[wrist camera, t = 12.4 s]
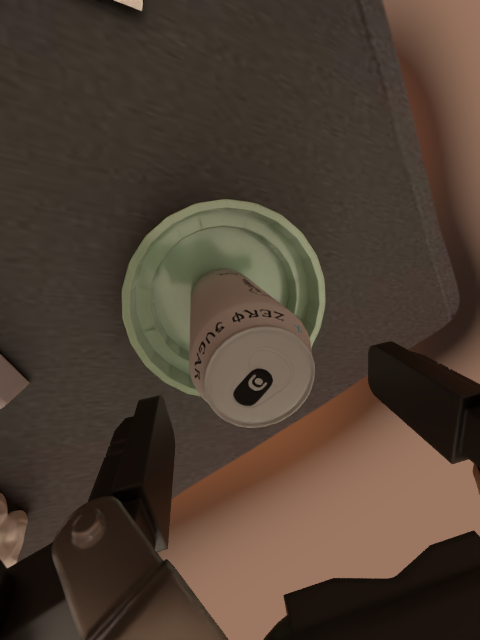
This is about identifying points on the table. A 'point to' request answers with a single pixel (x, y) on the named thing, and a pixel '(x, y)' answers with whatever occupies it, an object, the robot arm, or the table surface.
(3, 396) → the charger
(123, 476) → the robot arm
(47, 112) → the table surface
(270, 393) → the energy drink can
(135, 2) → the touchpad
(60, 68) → the table surface
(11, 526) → the white animal figurine
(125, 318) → the bowl
